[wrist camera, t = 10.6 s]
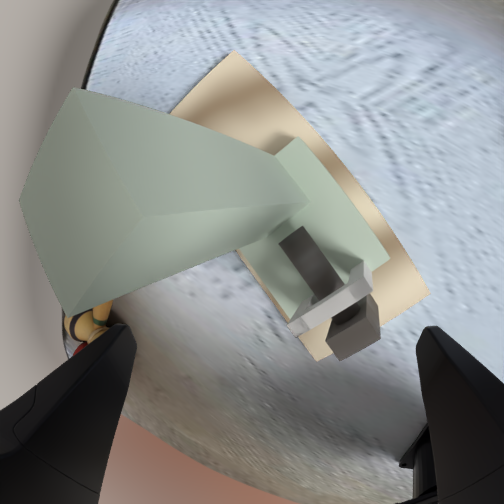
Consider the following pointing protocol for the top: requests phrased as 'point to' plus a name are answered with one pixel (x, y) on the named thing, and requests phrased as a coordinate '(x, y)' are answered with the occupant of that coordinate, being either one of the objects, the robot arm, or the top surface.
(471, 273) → the top surface
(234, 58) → the board
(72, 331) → the kendama
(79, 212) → the tall sage green column
